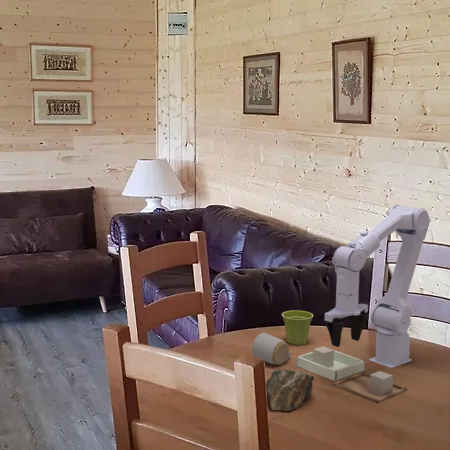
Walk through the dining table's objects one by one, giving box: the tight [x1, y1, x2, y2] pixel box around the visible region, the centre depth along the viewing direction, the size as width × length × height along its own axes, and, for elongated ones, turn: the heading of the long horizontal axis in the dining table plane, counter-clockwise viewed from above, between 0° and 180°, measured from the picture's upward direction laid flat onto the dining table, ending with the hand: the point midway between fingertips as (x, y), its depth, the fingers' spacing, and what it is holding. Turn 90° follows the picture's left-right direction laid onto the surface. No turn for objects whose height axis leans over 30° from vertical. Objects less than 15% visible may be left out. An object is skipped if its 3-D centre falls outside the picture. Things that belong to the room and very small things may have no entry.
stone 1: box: [312, 345, 335, 367], centre depth 194 cm, size 4×4×4 cm
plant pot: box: [281, 310, 314, 346], centre depth 214 cm, size 9×9×9 cm
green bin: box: [295, 349, 366, 382], centre depth 192 cm, size 12×14×3 cm
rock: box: [265, 369, 315, 412], centre depth 172 cm, size 14×11×10 cm
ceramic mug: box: [251, 332, 292, 366], centre depth 198 cm, size 11×8×8 cm
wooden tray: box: [332, 371, 408, 404], centre depth 179 cm, size 12×14×1 cm
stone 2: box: [369, 370, 394, 397], centre depth 176 cm, size 4×4×4 cm
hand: (345, 342), depth 186 cm, fingers open, 7 cm apart
